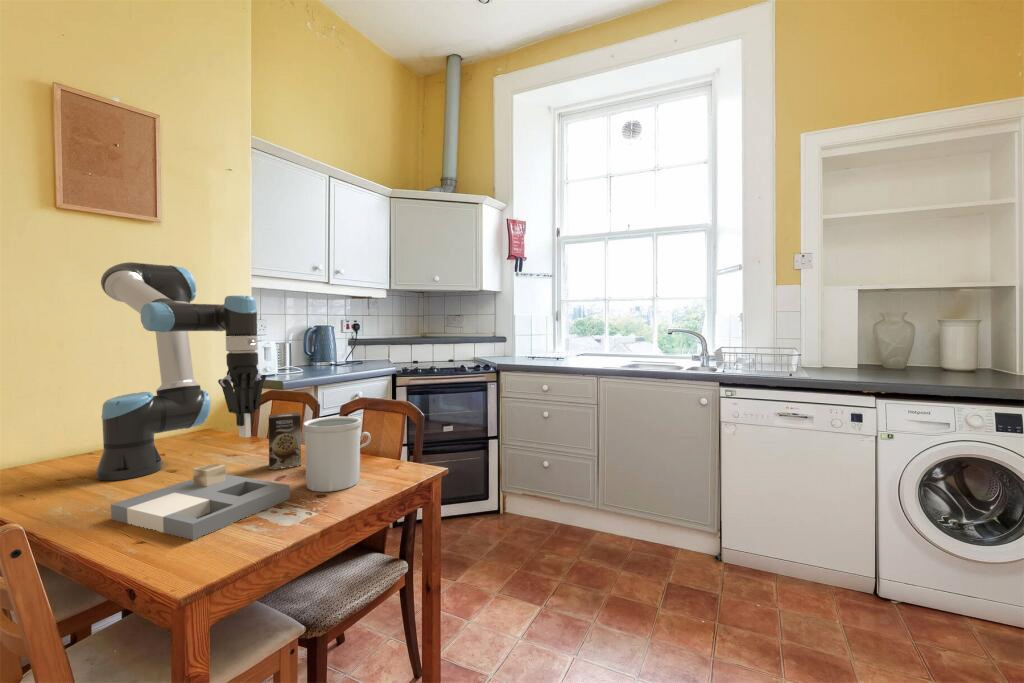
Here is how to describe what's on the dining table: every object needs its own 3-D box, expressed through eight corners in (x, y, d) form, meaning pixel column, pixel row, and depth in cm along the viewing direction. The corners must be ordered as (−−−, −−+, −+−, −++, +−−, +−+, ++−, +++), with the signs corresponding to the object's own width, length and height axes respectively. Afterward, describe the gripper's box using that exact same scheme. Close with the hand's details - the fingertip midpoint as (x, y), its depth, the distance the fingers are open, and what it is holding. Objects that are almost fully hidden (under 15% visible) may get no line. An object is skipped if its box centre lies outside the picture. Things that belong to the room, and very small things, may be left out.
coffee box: (268, 470, 138) (267, 417, 137) (269, 464, 144) (267, 414, 143) (302, 466, 142) (300, 415, 142) (300, 460, 148) (299, 411, 147)
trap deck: (111, 519, 104) (110, 504, 103) (214, 484, 126) (214, 472, 126) (193, 540, 93) (192, 523, 93) (290, 498, 115) (289, 485, 115)
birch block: (193, 484, 116) (193, 468, 116) (212, 478, 121) (212, 463, 121) (206, 486, 114) (206, 471, 114) (225, 480, 119) (225, 465, 119)
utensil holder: (325, 473, 135) (324, 414, 135) (371, 476, 132) (370, 416, 132) (292, 490, 121) (291, 425, 120) (342, 494, 118) (341, 427, 117)
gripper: (229, 353, 118) (232, 443, 119) (272, 350, 130) (275, 432, 131) (209, 353, 121) (212, 441, 122) (253, 350, 133) (256, 430, 134)
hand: (245, 436), depth 126 cm, fingers closed
